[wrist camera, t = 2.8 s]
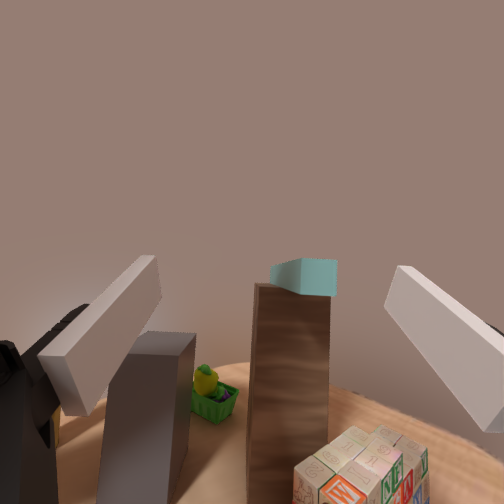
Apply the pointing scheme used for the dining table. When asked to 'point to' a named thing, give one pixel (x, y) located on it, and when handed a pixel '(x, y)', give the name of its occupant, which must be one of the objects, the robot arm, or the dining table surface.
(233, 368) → the dining table surface
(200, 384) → the fruit basket
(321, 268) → the bar
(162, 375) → the step
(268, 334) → the stand
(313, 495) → the stack of blocks
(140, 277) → the robot arm
